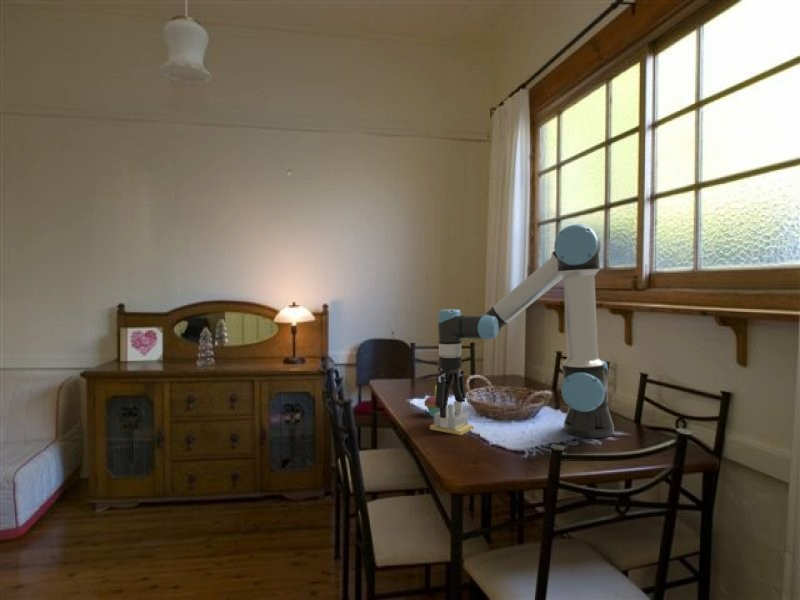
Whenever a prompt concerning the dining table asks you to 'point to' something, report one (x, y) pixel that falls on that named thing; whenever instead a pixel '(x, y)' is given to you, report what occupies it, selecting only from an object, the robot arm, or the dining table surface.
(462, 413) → the beige square box
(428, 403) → the cupcake
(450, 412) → the keeper post
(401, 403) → the dining table surface
